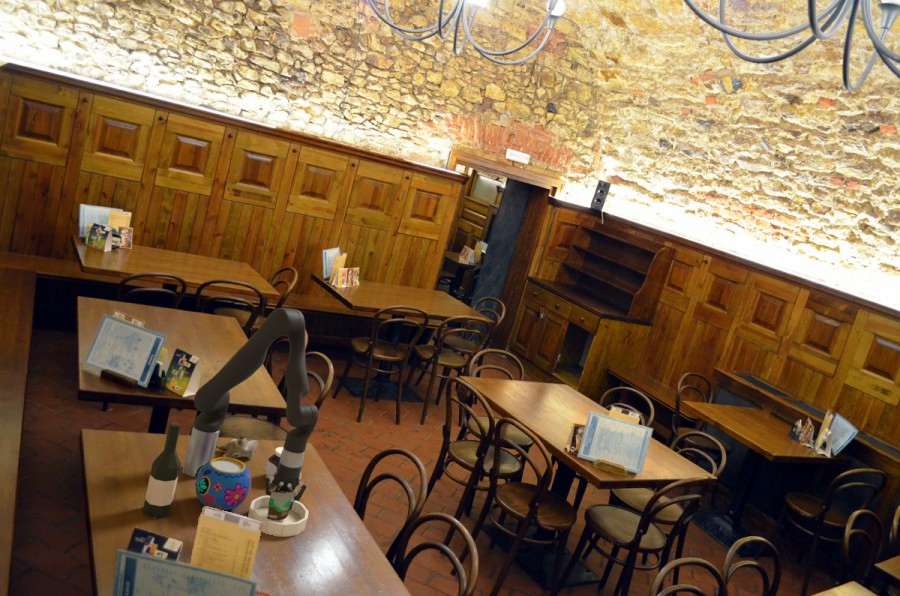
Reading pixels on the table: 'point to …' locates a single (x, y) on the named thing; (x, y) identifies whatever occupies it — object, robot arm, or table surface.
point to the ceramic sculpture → (239, 448)
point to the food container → (280, 504)
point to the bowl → (279, 527)
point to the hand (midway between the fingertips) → (279, 508)
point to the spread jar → (275, 463)
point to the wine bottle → (163, 477)
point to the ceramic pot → (222, 483)
